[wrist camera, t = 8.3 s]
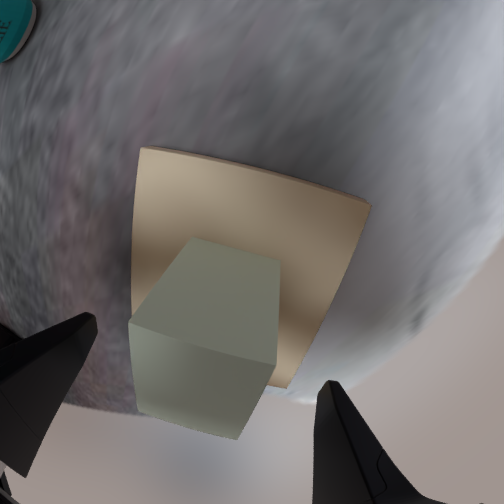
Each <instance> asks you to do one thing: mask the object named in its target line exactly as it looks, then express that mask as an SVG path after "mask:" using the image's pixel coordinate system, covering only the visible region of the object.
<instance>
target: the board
mask: <svg viewBox="0 0 504 504" xmlns="http://www.w3.org/2000/svg"><path fill="white" fill-rule="evenodd" d="M371 206H372V205H371V204H369V203H368V202H367V201H366V200H365V199H362V198H359V197H356V196H353V195H350V194H347V193H344V192H341V191H338V190H335V189H332V188H328V187H325V186H322V185H319V184H315V183H312V182H309V181H305V180H302V179H298V178H295V177H291V176H288V175H284V174H280V173H277V172H273V171H269V170H265V169H261V168H257V167H253V166H249V165H245V164H241V163H237V162H232V161H228V160H223V159H219V158H214V157H209V156H204V155H199V154H194V153H189V152H184V151H178V150H173V149H167V148H161V147H155V146H147V147H142V148H141V149H140V156H139V163H138V171H137V180H136V189H135V200H134V212H133V227H132V249H131V306H132V316H133V314H134V313H135V312H136V310H137V309H138V307H139V306H140V305H141V303H142V302H143V301H144V299H145V298H146V296H147V295H148V294H149V292H150V291H151V290H152V288H153V287H154V286H155V284H156V283H157V282H158V280H159V279H160V278H161V276H162V275H163V274H164V272H165V271H166V270H167V268H168V267H169V266H170V264H171V263H172V262H173V260H174V259H175V258H176V257H177V255H178V254H179V253H180V251H181V250H182V249H183V248H184V246H185V245H186V244H187V242H188V241H189V240H190V239H191V237H195V238H199V239H203V240H206V241H210V242H214V243H218V244H221V245H225V246H229V247H232V248H236V249H240V250H244V251H247V252H251V253H255V254H258V255H262V256H266V257H269V258H273V259H277V260H281V263H280V296H279V322H278V344H277V364H276V367H275V369H274V371H273V373H272V375H271V377H270V379H269V381H268V383H267V385H270V386H275V387H281V388H286V389H287V387H288V385H289V384H290V382H291V380H292V378H293V377H294V375H295V373H296V371H297V369H298V368H299V366H300V364H301V362H302V360H303V358H304V357H305V355H306V353H307V351H308V349H309V347H310V345H311V343H312V341H313V340H314V338H315V336H316V334H317V332H318V330H319V328H320V326H321V324H322V322H323V320H324V318H325V316H326V314H327V311H328V309H329V307H330V305H331V303H332V301H333V299H334V297H335V294H336V292H337V290H338V288H339V286H340V283H341V281H342V279H343V277H344V274H345V272H346V270H347V267H348V265H349V263H350V260H351V258H352V256H353V253H354V251H355V248H356V246H357V243H358V241H359V238H360V236H361V233H362V231H363V228H364V225H365V223H366V220H367V217H368V215H369V212H370V209H371Z"/></svg>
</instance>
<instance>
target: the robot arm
mask: <svg viewBox="0 0 504 504" xmlns="http://www.w3.org/2000/svg"><path fill="white" fill-rule="evenodd" d="M97 333H98V329H97V323H96V317H95V315H93V314H91V313H88V312H84V313H82V314H79V315H77V316H75V317H73V318H70V319H68V320H66V321H63V322H61V323H59V324H57V325H54V326H52V327H50V328H48V329H45V330H43V331H41V332H39V333H36V334H34V335H32V336H30V337H27V338H25V339H23V340H21V339H19V338H18V337H16V336H15V335H14V334H12V333H11V332H10V331H8V330H7V329H5V328H4V327H3V326H2V325H0V504H19V503H18V502H17V501H16V500H14V499H13V498H12V497H11V495H12V494H11V491H10V488H9V485H8V482H7V479H6V476H5V472H4V469H5V467H6V465H7V466H9V467H10V468H11V469H13V470H14V471H15V472H17V473H18V474H20V475H22V476H23V477H24V478H26V477H27V475H28V472H29V470H30V467H31V465H32V463H33V460H34V458H35V456H36V454H37V451H38V449H39V447H40V445H41V443H42V440H43V438H44V436H45V434H46V432H47V430H48V428H49V426H50V424H51V422H52V420H53V418H54V416H55V415H56V413H57V411H58V409H59V407H60V405H61V403H62V401H63V400H64V398H65V396H66V394H67V392H68V391H69V389H70V387H71V385H72V383H73V382H74V380H75V378H76V377H77V375H78V373H79V371H80V370H81V368H82V366H83V364H84V362H85V360H86V358H87V356H88V353H89V351H90V349H91V347H92V345H93V343H94V341H95V338H96V336H97ZM382 448H383V447H382V446H381V444H380V443H379V441H378V440H377V439H376V437H375V435H374V434H373V432H372V431H371V430H370V428H369V426H368V425H367V423H366V422H365V421H364V419H363V418H362V416H361V415H360V413H359V412H358V410H357V409H356V407H355V406H354V404H353V403H352V401H351V400H350V398H349V397H348V395H347V394H346V392H345V391H344V389H343V388H342V386H341V385H340V383H339V382H338V381H333V380H328V381H326V383H325V384H324V385H323V387H322V388H321V390H320V391H319V393H318V396H317V405H316V415H315V424H314V463H313V464H314V465H313V467H314V468H313V500H312V504H446V503H443V502H439V501H435V500H432V499H429V498H427V497H425V496H423V495H421V494H420V493H419V492H418V491H417V490H416V489H415V488H414V487H413V485H412V484H411V483H410V482H409V481H408V480H407V479H406V477H405V476H404V475H403V474H402V473H401V472H400V470H399V469H398V468H397V467H396V466H395V464H394V463H393V461H392V460H391V459H390V457H389V456H388V455H387V453H386V451H385V450H384V449H382ZM480 504H483V503H480Z"/></svg>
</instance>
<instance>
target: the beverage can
mask: <svg viewBox="0 0 504 504" xmlns="http://www.w3.org/2000/svg"><path fill="white" fill-rule="evenodd" d="M35 19H36V7H35V5H34V4H33V2H32V1H31V0H0V63H2V62H4V61H6V60H8V59H10V58H11V57H13V56H14V55H15V54H16V53H17V52H18V51H19V50H20V49H21V47H22V46H23V45H24V43H25V42H26V40H27V38H28V36H29V34H30V32H31V30H32V28H33V25H34V22H35Z"/></svg>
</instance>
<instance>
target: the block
mask: <svg viewBox="0 0 504 504" xmlns="http://www.w3.org/2000/svg"><path fill="white" fill-rule="evenodd" d="M280 263H281V260H277V259H273V258H269V257H266V256H262V255H258V254H255V253H251V252H247V251H244V250H240V249H236V248H232V247H229V246H225V245H221V244H218V243H214V242H210V241H206V240H203V239H199V238H195V237H191V239H190V240H189V241H188V242H187V244H186V245H185V246H184V248H183V249H182V250H181V251H180V253H179V254H178V255H177V257H176V258H175V259H174V260H173V262H172V263H171V264H170V266H169V267H168V268H167V270H166V271H165V272H164V274H163V275H162V276H161V278H160V279H159V280H158V282H157V283H156V284H155V286H154V287H153V288H152V290H151V291H150V292H149V294H148V295H147V296H146V298H145V299H144V301H143V302H142V303H141V305H140V306H139V307H138V309H137V310H136V312H135V313H134V314H133V316H132V317H131V319H130V320H129V322H128V329H129V343H130V354H131V364H132V373H133V381H134V389H135V396H136V402H137V408H138V411H139V412H142V413H145V414H147V415H150V416H153V417H155V418H158V419H161V420H164V421H168V422H170V423H174V424H177V425H180V426H183V427H186V428H190V429H193V430H197V431H200V432H204V433H208V434H212V435H216V436H220V437H225V438H229V439H234V440H237V439H238V437H239V436H240V434H241V432H242V430H243V429H244V427H245V425H246V423H247V421H248V420H249V417H250V416H251V414H252V412H253V410H254V408H255V406H256V405H257V403H258V401H259V399H260V397H261V395H262V393H263V391H264V389H265V387H266V385H267V383H268V381H269V379H270V377H271V375H272V373H273V371H274V369H275V367H276V364H277V344H278V322H279V296H280Z"/></svg>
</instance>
